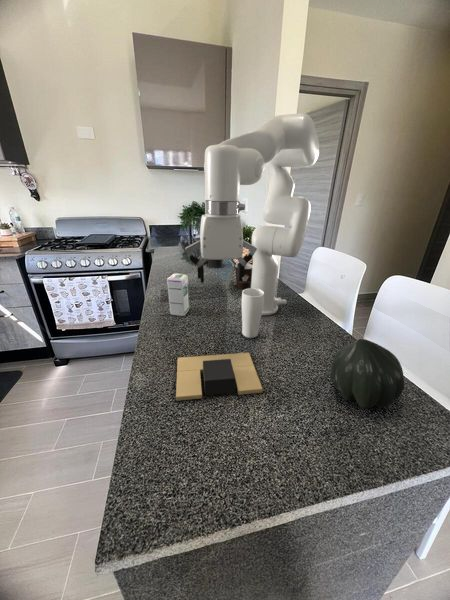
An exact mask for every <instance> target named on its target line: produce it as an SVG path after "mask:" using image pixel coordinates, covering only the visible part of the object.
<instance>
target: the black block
mask: <svg viewBox="0 0 450 600" xmlns="http://www.w3.org/2000/svg"><path fill="white" fill-rule="evenodd" d="M202 378H203V379H202V380H203V386H204V387H203V388H204V389H203V390H204V396H215V395H226V394H235V393H236V384H235V375H234V371H233V367H232V363H231V359H222V360H208V361H203V373H202Z"/></svg>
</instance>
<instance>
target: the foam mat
mask: <svg viewBox="0 0 450 600" xmlns="http://www.w3.org/2000/svg"><path fill="white" fill-rule="evenodd" d="M222 359H231V363H232V367H233V371H234V375H235V389H236V391H237V395H238V396H239V395H240V396H241V395H251V394H260V393H261V394H262V393H263V386H262V384H261V380H260V377H259V375H258V373H257V370H256V368H255V365H254V363H253V362H254V361H253V359H252V357H251V354H250V352H237V353H223V354H222V353H221V354H211V355H209V354H208V355H197V356H196V355H195V356H183V357H177V361H176V363H177V364H176V389H175V400H176V402H179V401H189V400H199V399H203V390H202V377H201V374H203V361H208V360H222Z"/></svg>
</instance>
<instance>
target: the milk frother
mask: <svg viewBox="0 0 450 600" xmlns="http://www.w3.org/2000/svg"><path fill="white" fill-rule="evenodd" d="M205 264H207V267H209V268H214V269H218V268H222V267H224V259H223V260H206V261H205V262H204V264H203V265H205Z"/></svg>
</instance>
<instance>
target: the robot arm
mask: <svg viewBox="0 0 450 600" xmlns="http://www.w3.org/2000/svg"><path fill="white" fill-rule="evenodd" d="M319 155H320V141H319V137H318V133H317V129H316V125H315V123H314V120H313V118H312V117H311V116H310V115H309V114H308V113H305V112H300V113H287V114H280V115H279V114H278V115H274V116H272V117H270V118H268V119H267V120H266V121H264V122H263V123H262V124H260V125H259V126H258V127H256V128H255V129H253V130H250V131H246V132H244V133H242V134H240V135H237V136H234V137H231V138H228V139H226V140H223V141H222V142H220V143H218V144H212V145H211V144H210V145H209V146H207V147H206V149H205V150H204V163H203V171H204V214H202V215H201V217H200V218H201V219H200V228H199V240H197V241H195V242H194V243H192V244H190V245H188V246H186V247H185V248H184V251H185V253H186V255H187V257H188V258H189V260H190V262H192V263H193V264H194V265H195V266H196V267H197V269H196V270H197V279H200V283H201V284H204V283H205V269H204V268H205V267H204V265H205V264H204V262H205V261H207V260H223V261H224V260H237V261H238V263H237V264H238V265H237V278H238V280H239V281H240V282H241V281H242V277H244V272H245V266H246V265H247V264H249V262H250V261H252V265H253V266H252V280H251V284H250V288H255V289H260V290H262V291H263V292H264V303H263V309H262V315H261V316H269V315H270V316H271V315H274V314H276V313H277V312H278V310H279V305H287V302H288V301H287V299H282V298H281V297H276V293H277V286H278V285H277V284H278V275H279V263H278V260H277V258H276V256H279V257H285V258H295V257H298V256H299V255H300V253H301V250H302V248H303V245H304V242H305V241H304V240H305V236H306V232H307V229H308V224H309V221H310V216H311V209H312V207H311V201H310V200H309V199H308V198H306V197H304V196H293V195H294V190H295V186H296V185H295V181H294V179H293V177H292V175H291V174H290V172H289V171H288V169H287V168H309V167H312V166H313V165H315V164H316V162H317V160H318V158H319ZM266 164H267V170H268V174H269V187H268V191H267V195H266V199H265V201H264V202H265V203H264V207H263V211H262V218H263V220H264V221H265V223H267V224H271V225H260V226H257V227H256V228H254V230H253V231H252V234H251V243H249V242H248V241H245V240H244V233H243V232H244V231H243V222H242V221H243V220H242V216H241V214H240V212H241V211H246V204H245V203H241V202H240V186H251V185H255V184H257V183H258V182H259V181H260V180H261V179H262V177H263V175H264V172H265V165H266ZM284 226H287V227H284ZM244 248H245V249H247V250H248V252H247V253H246V254H245V255H244V256H243V254H244ZM197 249H199V253H200V256H199V257H197V256H196V255H195V254H194V253H193V252H194V251H195V250H197Z"/></svg>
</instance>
